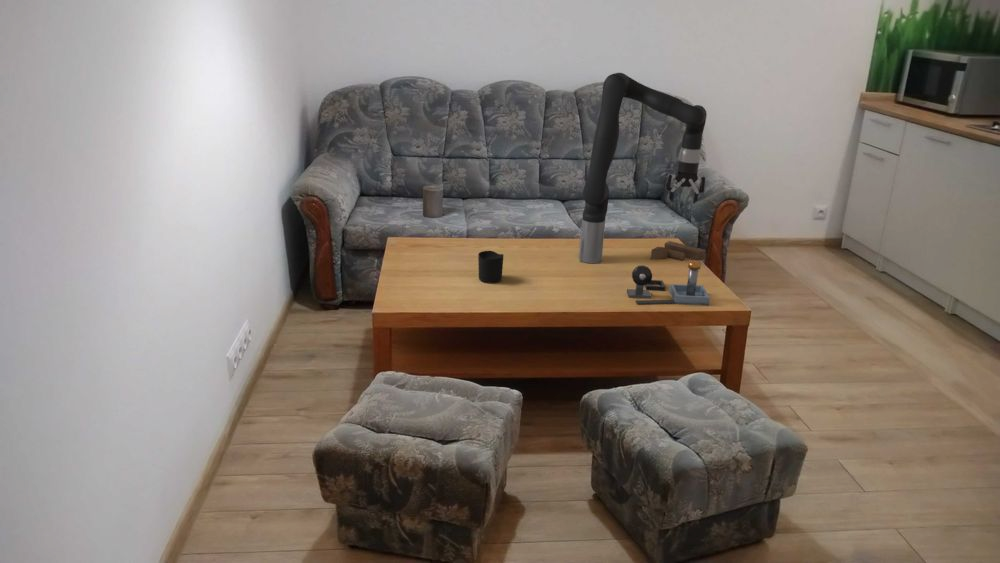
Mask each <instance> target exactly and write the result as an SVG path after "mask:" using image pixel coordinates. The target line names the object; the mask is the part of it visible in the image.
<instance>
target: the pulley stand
mask: <svg viewBox="0 0 1000 563" xmlns="http://www.w3.org/2000/svg"><path fill="white" fill-rule="evenodd" d="M651 270H652V269H650V267H649V266H647V265H637V266H636V267H634V269H633V270H632V272H631V279H632V280H633V282H634V284H635V289H634V288H627V290H626V293H627V297H628V298H631V299H632V298H633V299H648V300H652V295H651V292H650V290H646V289H644V288H645V285H647V284H648V283H650V281H651V280H653V273H652V271H651Z"/></svg>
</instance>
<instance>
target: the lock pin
mask: <svg viewBox="0 0 1000 563" xmlns="http://www.w3.org/2000/svg"><path fill="white" fill-rule="evenodd" d="M701 267H702V262H701V260H694V259H691V260H689V261H688V265H687V268H688V269H689V270H688V277H687V283H686V285H687V290H686V296H695V291H696V285H698V276H699V275H698V274H699V270H701Z"/></svg>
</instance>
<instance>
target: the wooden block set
mask: <svg viewBox="0 0 1000 563" xmlns="http://www.w3.org/2000/svg"><path fill="white" fill-rule="evenodd" d="M650 253H651V254H650V260H667V259H668V258H672V259H676V260H680V261H685V260H686V257H687V258H688V259H690V258H691V260H696V261H703V260H705V258H706V253H707V251H706V249H703V248H698V247H694V246H689V245H687V244H683V243H679V242H675V241H671V240H669V241H667V242H665V243H664V246H655V247H654V248H652V249H651V252H650Z"/></svg>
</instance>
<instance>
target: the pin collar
mask: <svg viewBox="0 0 1000 563" xmlns="http://www.w3.org/2000/svg"><path fill="white" fill-rule="evenodd" d="M644 288H645V290H649V291H657V290H658V291H661V292H663V291H664V292H666V285H665V283H664V281H663V280H660V279H658V280H656V279H652V280H651V281H650V283H648V284H647V285H644Z"/></svg>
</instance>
